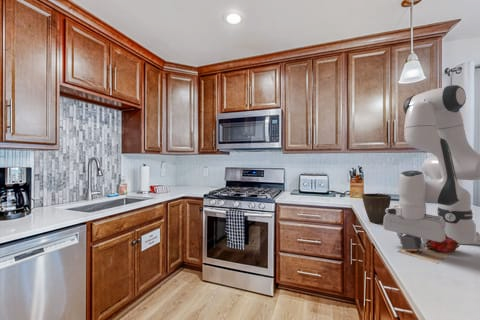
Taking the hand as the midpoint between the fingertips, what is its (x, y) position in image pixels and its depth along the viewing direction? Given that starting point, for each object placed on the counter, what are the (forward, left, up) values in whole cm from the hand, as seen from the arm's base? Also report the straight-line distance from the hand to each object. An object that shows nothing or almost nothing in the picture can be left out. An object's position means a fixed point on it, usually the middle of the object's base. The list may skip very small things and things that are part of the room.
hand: (412, 246), depth 94 cm
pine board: (0, +3, -3) cm, 5 cm away
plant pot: (-37, -31, -3) cm, 48 cm away
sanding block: (0, 0, -1) cm, 1 cm away
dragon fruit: (-10, +6, -3) cm, 12 cm away
